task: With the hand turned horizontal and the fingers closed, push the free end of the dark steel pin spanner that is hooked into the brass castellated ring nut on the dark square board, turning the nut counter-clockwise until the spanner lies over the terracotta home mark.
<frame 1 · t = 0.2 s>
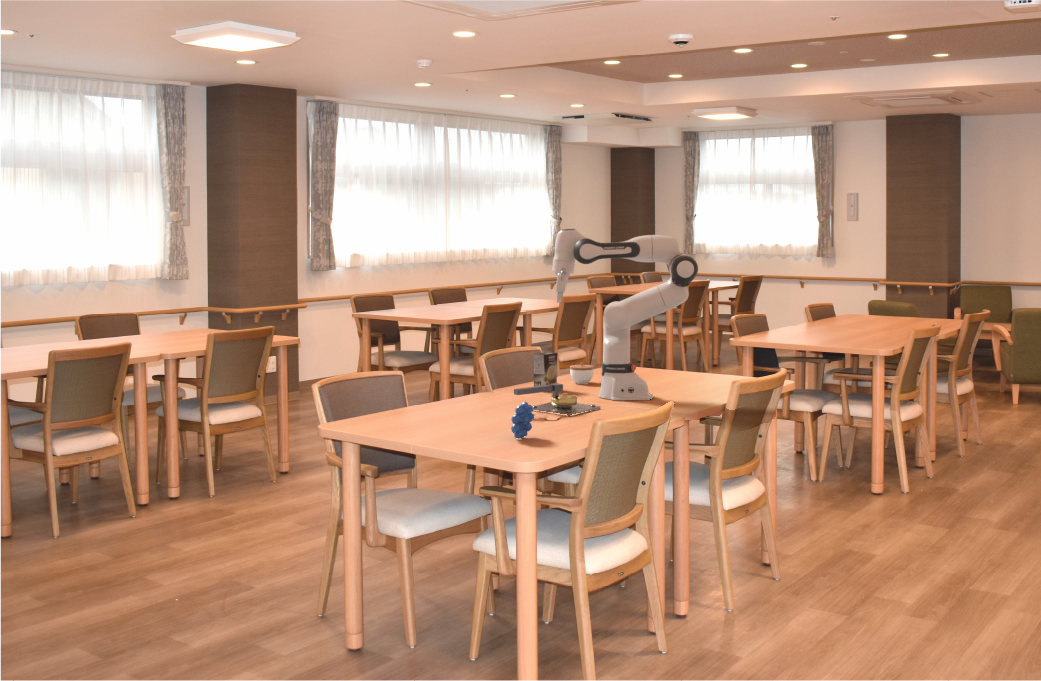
hand: (559, 301, 397), 39 cm above the table, tool pointing down, fingers open, 8 cm apart
coffee box: (545, 390, 416), on the table
ring nut: (545, 395, 364), point 6 cm above the table, hinge at -15.0°
dark square board: (563, 409, 370), on the table
lidded jar: (581, 383, 435), on the table
home mark: (552, 418, 352), on the table
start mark: (524, 415, 359), on the table
grapes: (520, 438, 319), on the table
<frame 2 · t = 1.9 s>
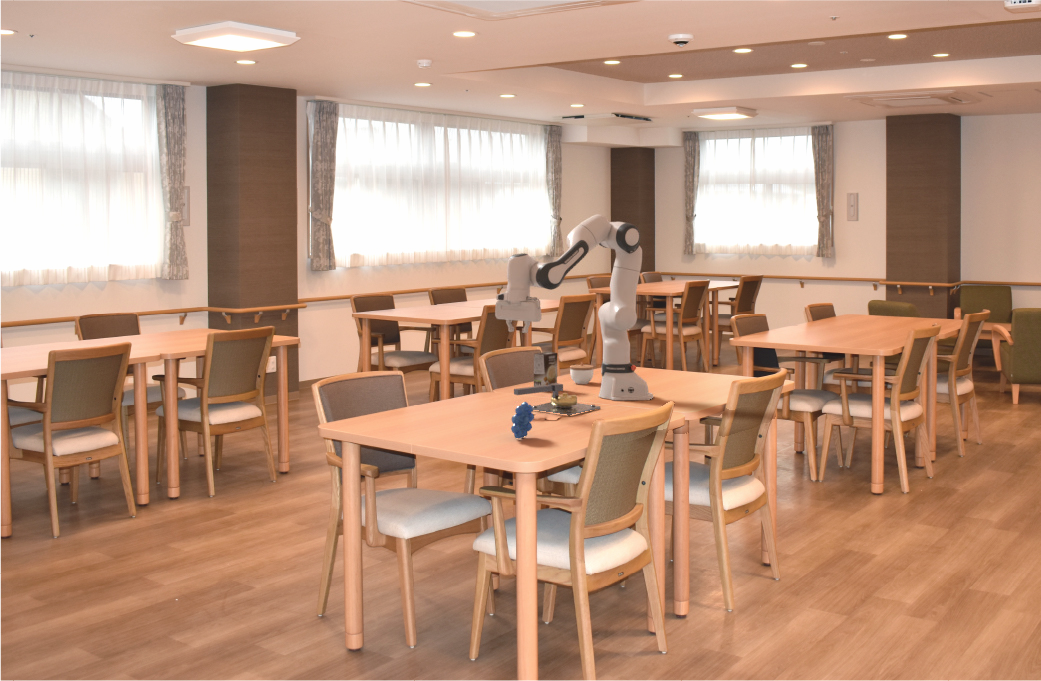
hand: (518, 332, 372), 29 cm above the table, tool pointing down, fingers open, 5 cm apart
nothing on the table moved.
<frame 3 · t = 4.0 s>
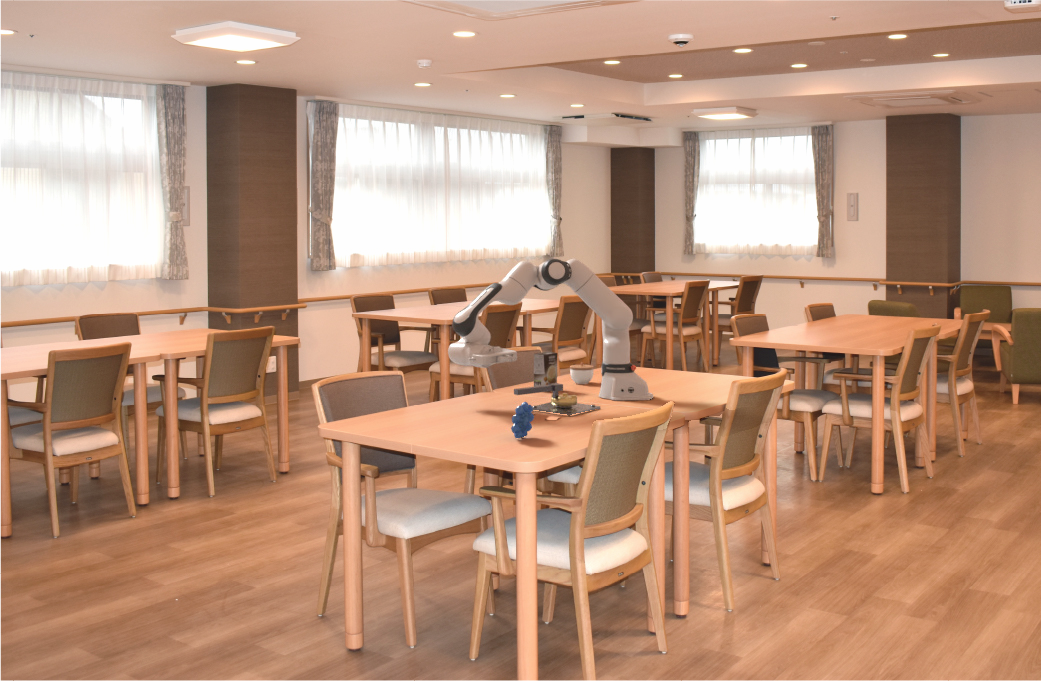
hand: (511, 359, 362), 20 cm above the table, tool horizontal, fingers closed
nothing on the table moved.
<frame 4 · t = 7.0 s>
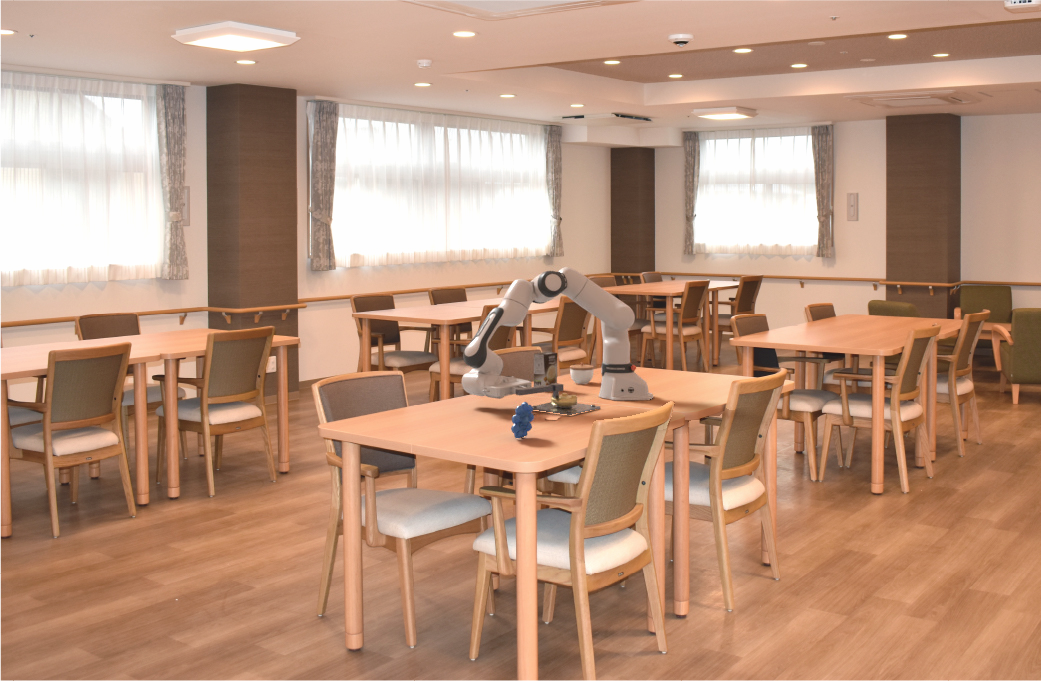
hand: (525, 390, 359), 9 cm above the table, tool horizontal, fingers closed
ring nut: (546, 395, 364), point 6 cm above the table, hinge at -12.2°, touching gripper
everything else where it was.
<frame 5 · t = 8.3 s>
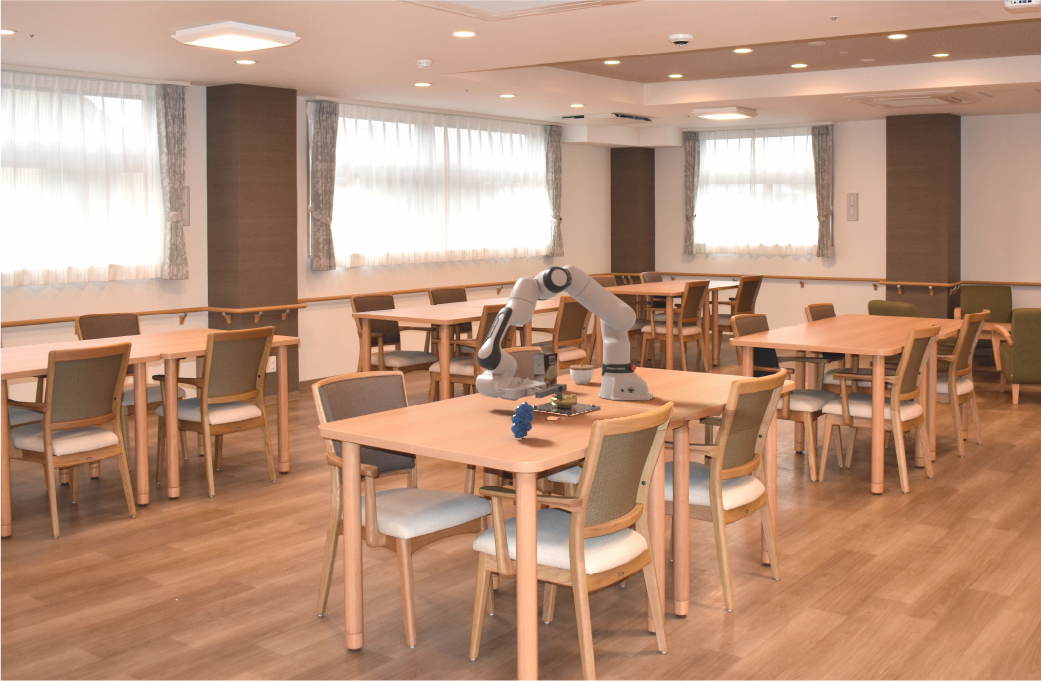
hand: (541, 392, 355), 9 cm above the table, tool horizontal, fingers closed
ring nut: (554, 396, 362), point 6 cm above the table, hinge at 11.7°, touching gripper
everything else where it was.
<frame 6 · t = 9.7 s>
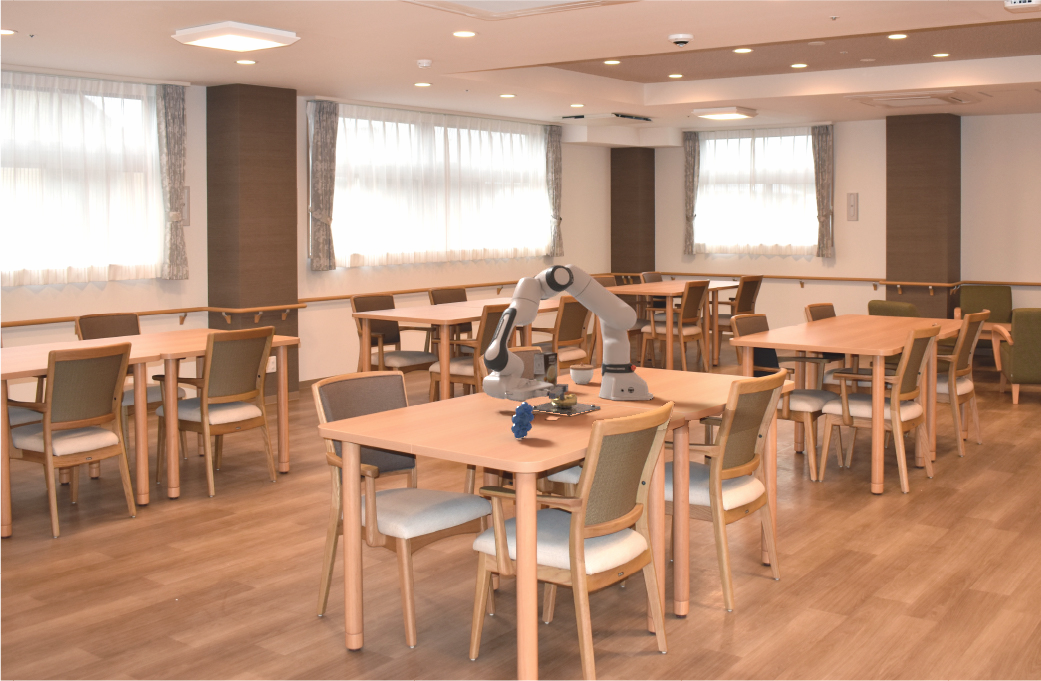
hand: (549, 393, 353), 9 cm above the table, tool horizontal, fingers closed
ring nut: (559, 397, 361), point 6 cm above the table, hinge at 24.4°, touching gripper
everything else where it was.
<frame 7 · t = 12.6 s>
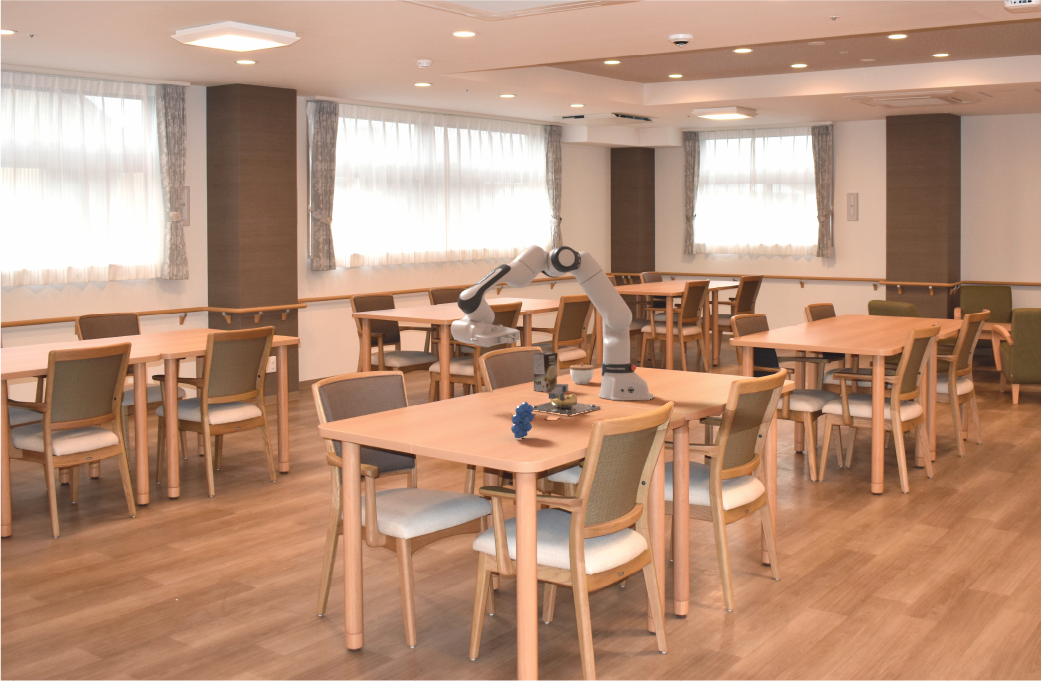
hand: (513, 340, 362), 27 cm above the table, tool horizontal, fingers closed
ring nut: (559, 397, 361), point 6 cm above the table, hinge at 24.4°
everything else where it was.
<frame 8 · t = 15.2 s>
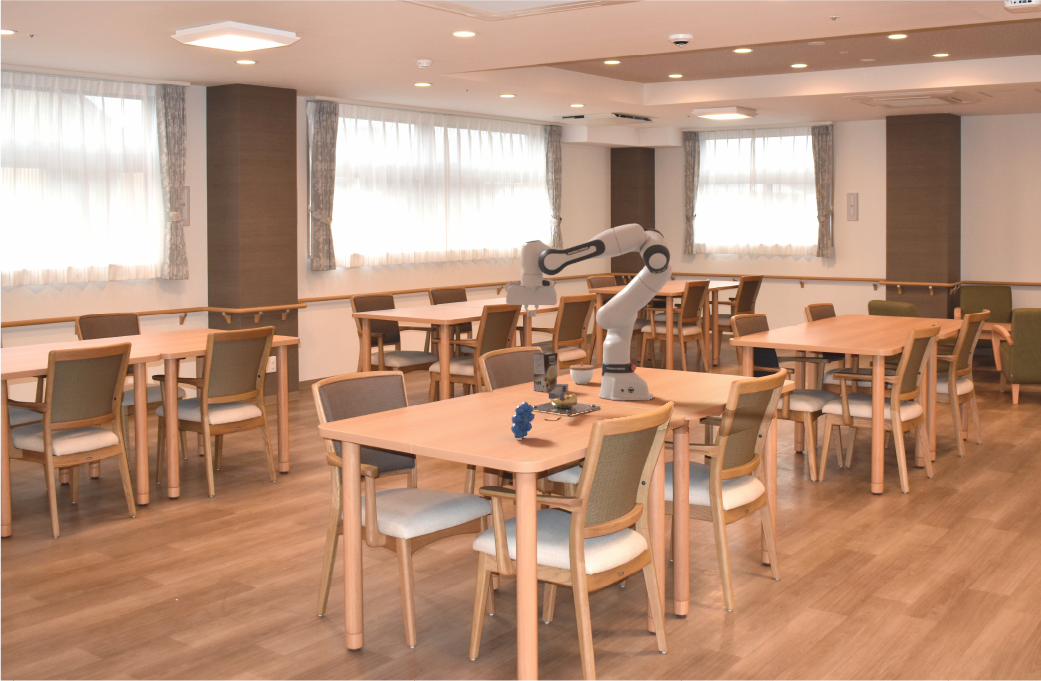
hand: (531, 316, 384), 34 cm above the table, tool pointing down, fingers closed
nothing on the table moved.
at the end: ring nut at +24° (first picture: -15°) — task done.
